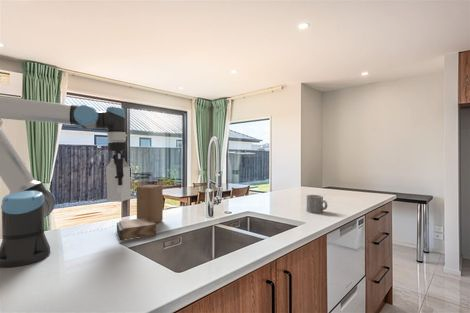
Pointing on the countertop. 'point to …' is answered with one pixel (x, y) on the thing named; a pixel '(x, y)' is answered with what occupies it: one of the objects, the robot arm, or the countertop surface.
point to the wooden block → (150, 202)
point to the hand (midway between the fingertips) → (119, 191)
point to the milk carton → (111, 182)
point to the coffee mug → (315, 204)
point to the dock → (136, 228)
